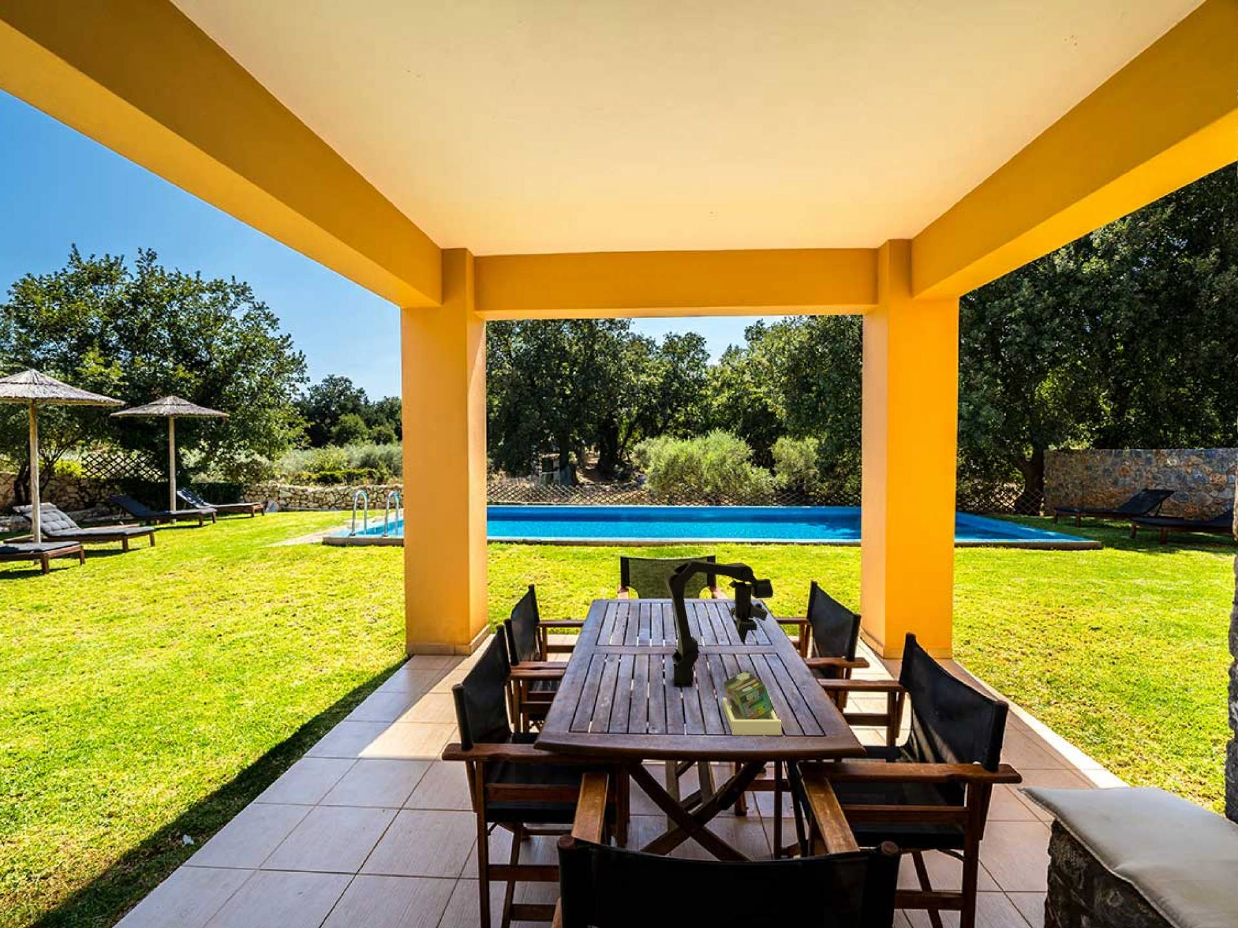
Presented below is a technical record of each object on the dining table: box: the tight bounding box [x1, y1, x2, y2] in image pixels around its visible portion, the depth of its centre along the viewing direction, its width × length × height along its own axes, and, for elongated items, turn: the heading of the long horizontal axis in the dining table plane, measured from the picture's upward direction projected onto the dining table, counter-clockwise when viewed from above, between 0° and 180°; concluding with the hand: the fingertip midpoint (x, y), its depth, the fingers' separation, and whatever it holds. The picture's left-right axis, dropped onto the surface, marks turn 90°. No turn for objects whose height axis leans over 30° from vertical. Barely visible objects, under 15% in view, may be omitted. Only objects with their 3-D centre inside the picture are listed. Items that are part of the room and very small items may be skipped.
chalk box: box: [723, 670, 774, 720], centre depth 180 cm, size 9×9×15 cm
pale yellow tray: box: [722, 697, 782, 736], centre depth 179 cm, size 14×18×4 cm
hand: (742, 642), depth 210 cm, fingers closed
